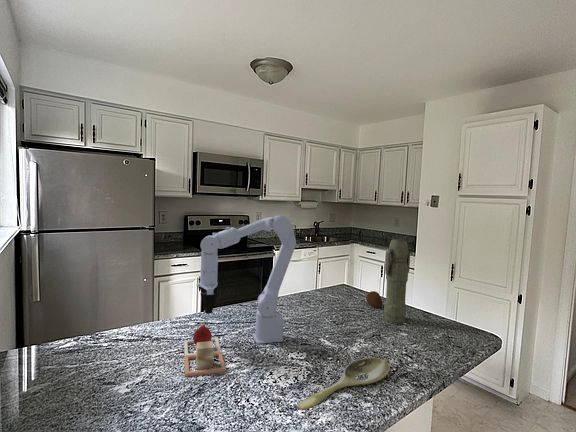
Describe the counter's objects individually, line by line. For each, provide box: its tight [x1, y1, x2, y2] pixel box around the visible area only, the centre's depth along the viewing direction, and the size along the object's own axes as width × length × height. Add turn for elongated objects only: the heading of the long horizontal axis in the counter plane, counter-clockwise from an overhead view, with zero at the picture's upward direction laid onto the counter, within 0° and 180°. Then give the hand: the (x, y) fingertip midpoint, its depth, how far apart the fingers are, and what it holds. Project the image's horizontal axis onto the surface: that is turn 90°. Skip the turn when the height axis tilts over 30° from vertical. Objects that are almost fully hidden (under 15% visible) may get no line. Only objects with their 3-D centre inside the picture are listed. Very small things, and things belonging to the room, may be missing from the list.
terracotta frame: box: [184, 351, 227, 378], centre depth 97 cm, size 11×11×1 cm
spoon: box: [297, 357, 391, 411], centre depth 90 cm, size 35×11×2 cm, turn 130°
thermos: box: [383, 238, 411, 325], centre depth 141 cm, size 9×12×35 cm
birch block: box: [195, 341, 215, 371], centre depth 97 cm, size 4×4×6 cm
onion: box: [192, 323, 213, 347], centre depth 107 cm, size 6×6×8 cm
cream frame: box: [183, 337, 222, 356], centre depth 107 cm, size 11×11×1 cm
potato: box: [365, 290, 383, 308], centre depth 161 cm, size 7×10×7 cm
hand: (207, 309), depth 114 cm, fingers open, 7 cm apart
